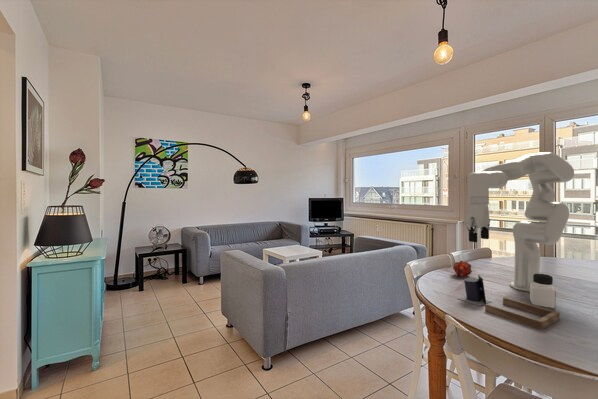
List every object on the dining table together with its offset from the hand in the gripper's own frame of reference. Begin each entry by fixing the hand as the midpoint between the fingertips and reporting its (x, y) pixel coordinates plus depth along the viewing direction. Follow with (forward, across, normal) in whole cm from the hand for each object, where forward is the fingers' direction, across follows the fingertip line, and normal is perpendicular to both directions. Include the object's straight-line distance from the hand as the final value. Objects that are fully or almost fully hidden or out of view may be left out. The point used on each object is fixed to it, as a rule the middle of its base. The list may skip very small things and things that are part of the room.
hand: (479, 240), depth 127 cm
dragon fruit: (+26, -24, -21) cm, 40 cm away
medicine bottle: (+25, -12, +18) cm, 33 cm away
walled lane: (+24, +8, +18) cm, 31 cm away
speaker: (+24, +8, +2) cm, 25 cm away
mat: (+24, +8, +2) cm, 25 cm away
